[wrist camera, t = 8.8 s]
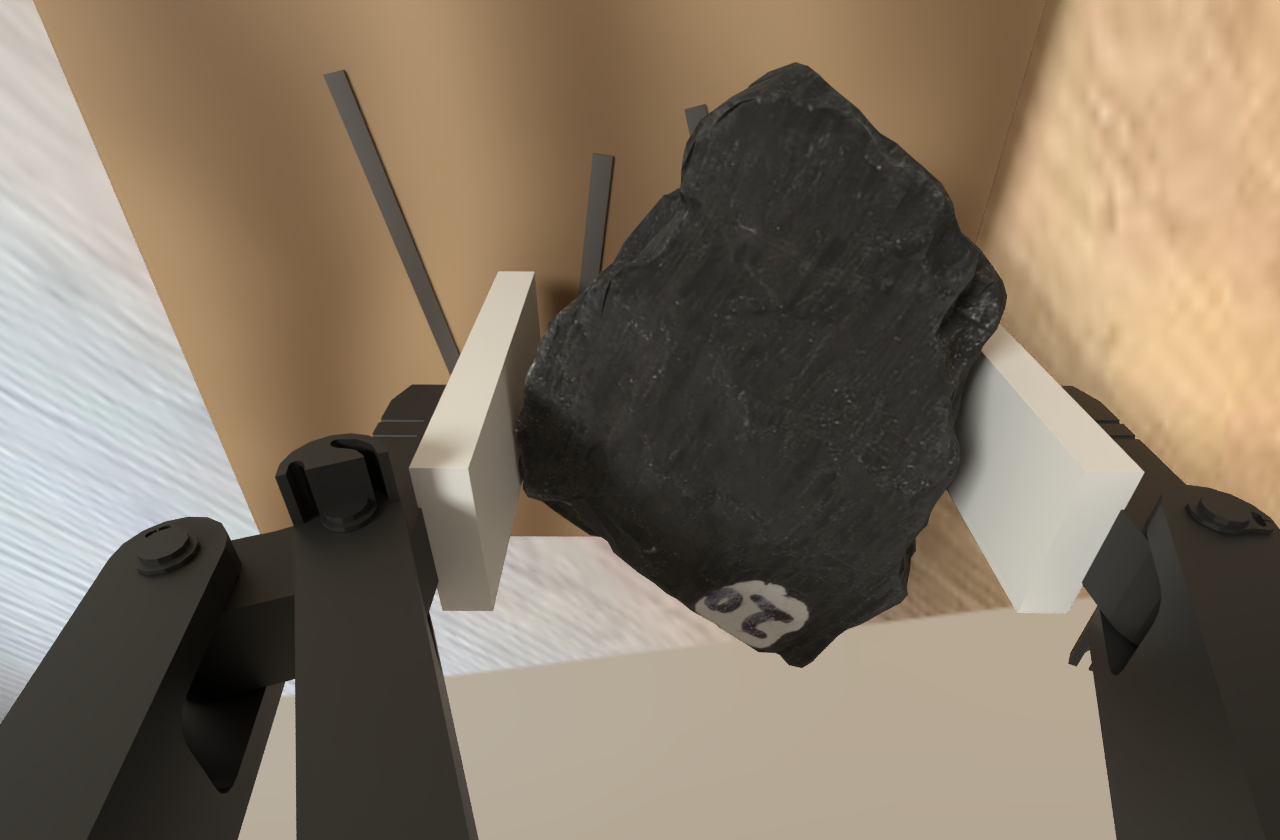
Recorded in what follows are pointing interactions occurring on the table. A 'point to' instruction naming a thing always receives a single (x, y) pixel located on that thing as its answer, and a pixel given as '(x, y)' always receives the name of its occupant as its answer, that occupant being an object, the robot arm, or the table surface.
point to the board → (456, 165)
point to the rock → (768, 372)
